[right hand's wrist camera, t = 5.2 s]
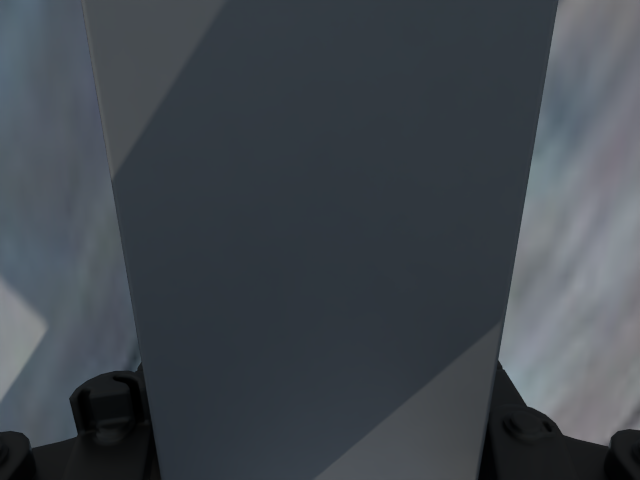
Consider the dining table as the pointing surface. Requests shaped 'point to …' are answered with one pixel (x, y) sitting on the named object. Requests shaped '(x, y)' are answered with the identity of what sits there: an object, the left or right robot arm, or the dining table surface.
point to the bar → (319, 223)
